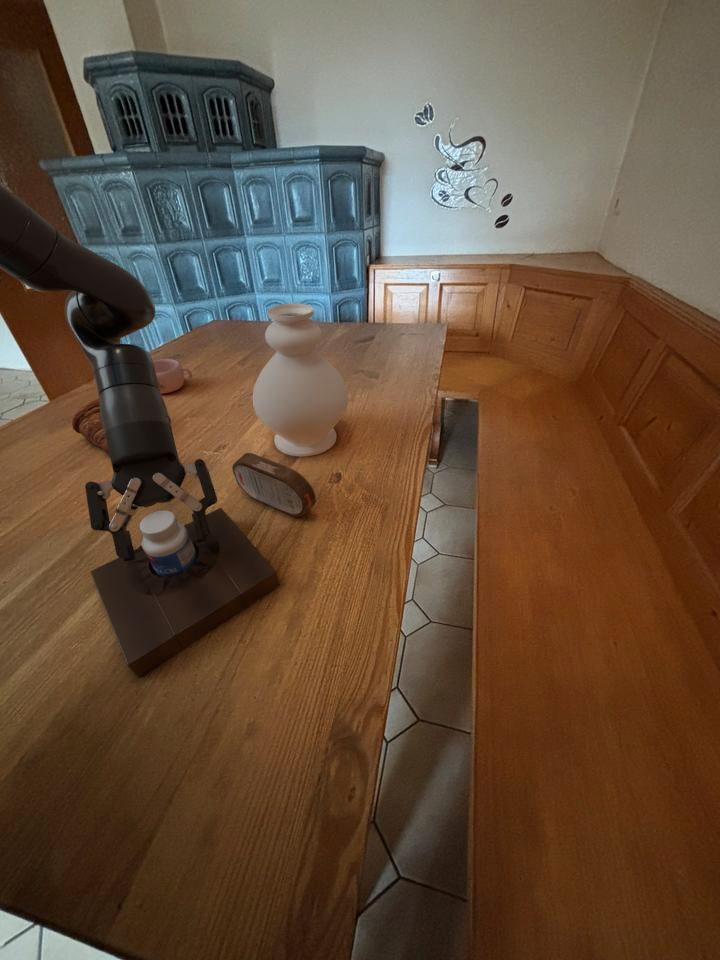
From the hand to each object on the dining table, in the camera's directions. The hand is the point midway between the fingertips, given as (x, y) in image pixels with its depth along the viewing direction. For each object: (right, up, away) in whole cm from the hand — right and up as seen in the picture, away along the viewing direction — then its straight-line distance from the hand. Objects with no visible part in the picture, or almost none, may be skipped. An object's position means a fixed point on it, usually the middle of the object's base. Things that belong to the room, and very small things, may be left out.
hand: (167, 550), depth 48 cm
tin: (+10, +5, +15) cm, 19 cm away
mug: (-23, +32, +49) cm, 63 cm away
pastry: (-26, +19, +33) cm, 46 cm away
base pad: (+2, -5, +3) cm, 6 cm away
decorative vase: (+13, +17, +30) cm, 37 cm away
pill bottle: (0, -4, +5) cm, 6 cm away
